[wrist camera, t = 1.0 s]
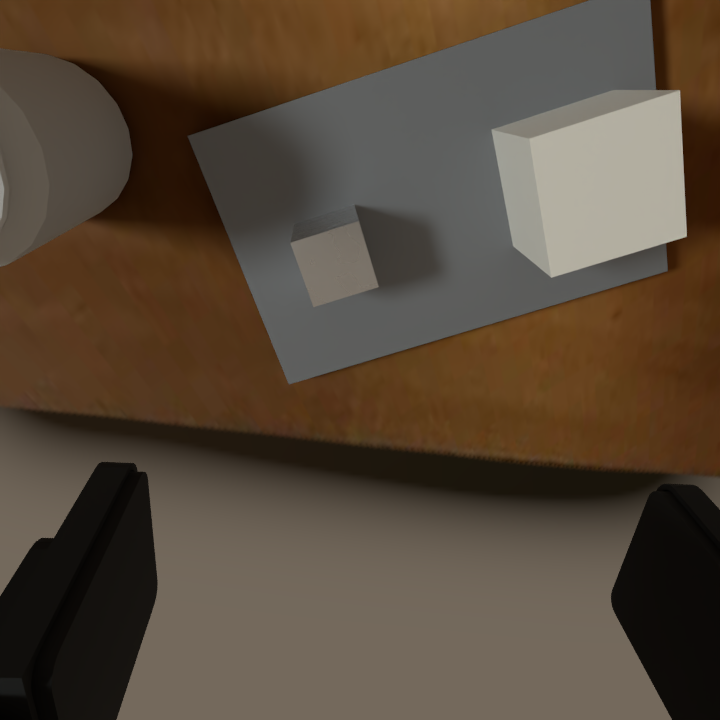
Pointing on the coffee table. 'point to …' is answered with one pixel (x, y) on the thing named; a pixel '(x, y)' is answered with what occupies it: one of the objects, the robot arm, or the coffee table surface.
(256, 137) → the board
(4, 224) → the can
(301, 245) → the small white block
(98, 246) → the coffee table surface
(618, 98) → the cream foam cube
